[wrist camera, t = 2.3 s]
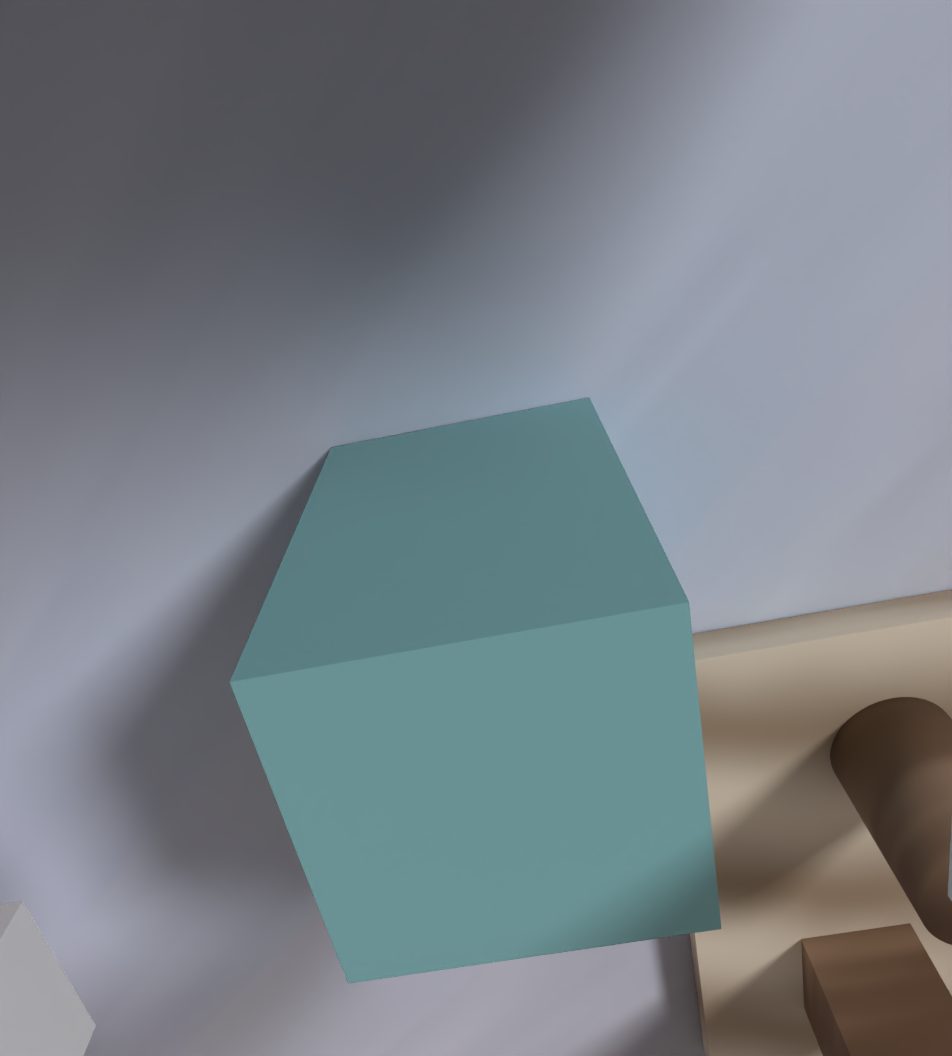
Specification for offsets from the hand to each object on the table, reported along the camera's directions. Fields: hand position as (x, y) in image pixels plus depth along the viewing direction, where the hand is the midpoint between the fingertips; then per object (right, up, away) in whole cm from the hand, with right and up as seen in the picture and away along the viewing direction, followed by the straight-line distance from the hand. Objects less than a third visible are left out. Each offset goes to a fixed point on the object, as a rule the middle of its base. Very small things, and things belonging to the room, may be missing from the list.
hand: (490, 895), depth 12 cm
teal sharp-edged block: (0, +5, +10) cm, 11 cm away
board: (+12, -5, +14) cm, 20 cm away
